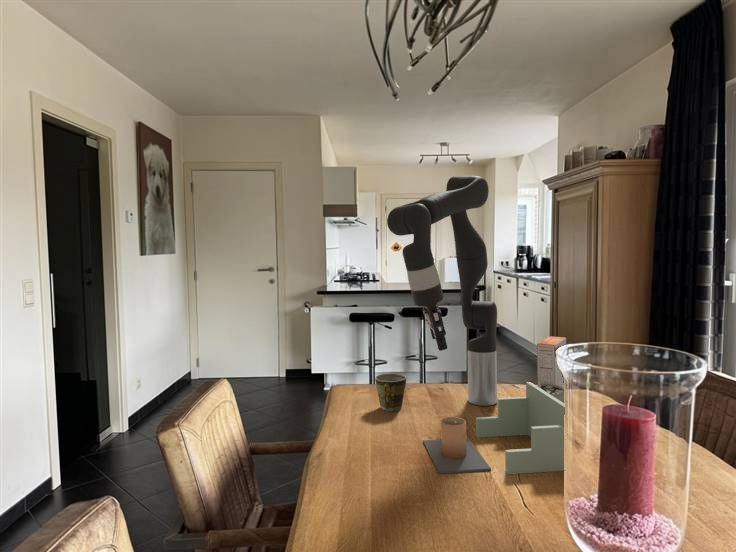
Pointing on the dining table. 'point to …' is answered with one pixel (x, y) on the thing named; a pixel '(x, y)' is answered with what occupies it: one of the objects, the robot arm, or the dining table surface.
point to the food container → (554, 391)
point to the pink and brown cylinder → (453, 437)
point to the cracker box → (549, 361)
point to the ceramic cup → (390, 391)
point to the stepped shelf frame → (529, 430)
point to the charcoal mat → (449, 465)
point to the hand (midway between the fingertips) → (439, 343)
